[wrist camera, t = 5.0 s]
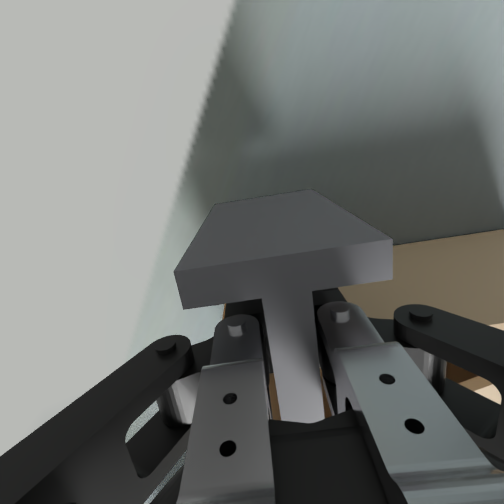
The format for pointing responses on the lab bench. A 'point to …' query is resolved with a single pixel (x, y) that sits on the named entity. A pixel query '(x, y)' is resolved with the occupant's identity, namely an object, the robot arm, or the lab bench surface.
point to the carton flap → (329, 277)
